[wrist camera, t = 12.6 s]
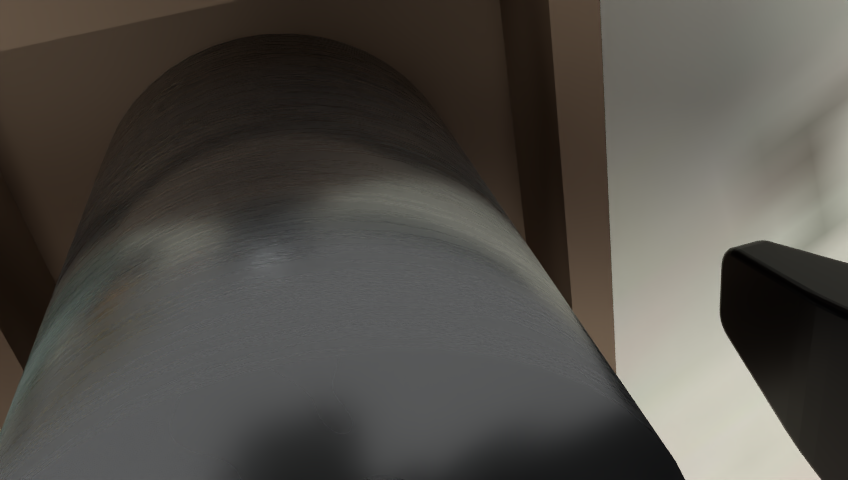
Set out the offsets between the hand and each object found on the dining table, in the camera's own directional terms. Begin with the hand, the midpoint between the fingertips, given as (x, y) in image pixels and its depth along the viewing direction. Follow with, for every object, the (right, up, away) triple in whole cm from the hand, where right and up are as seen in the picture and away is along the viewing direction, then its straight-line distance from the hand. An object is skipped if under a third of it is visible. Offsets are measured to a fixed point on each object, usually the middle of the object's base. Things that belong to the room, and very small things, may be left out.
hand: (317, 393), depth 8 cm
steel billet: (-1, +2, +3) cm, 4 cm away
